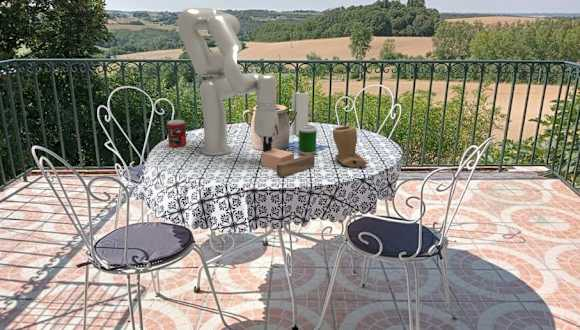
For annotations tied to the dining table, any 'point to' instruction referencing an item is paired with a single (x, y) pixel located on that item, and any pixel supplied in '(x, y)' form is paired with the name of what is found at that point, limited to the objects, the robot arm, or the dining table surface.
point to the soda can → (307, 139)
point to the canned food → (176, 133)
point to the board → (295, 165)
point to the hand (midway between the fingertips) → (267, 151)
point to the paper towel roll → (300, 110)
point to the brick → (275, 157)
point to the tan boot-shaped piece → (347, 146)
